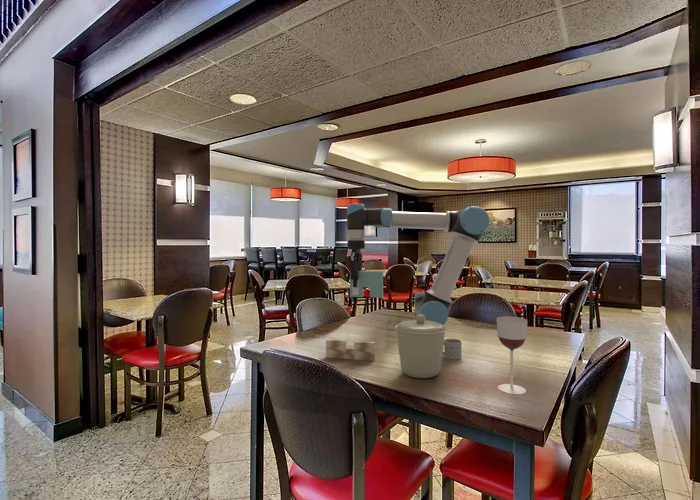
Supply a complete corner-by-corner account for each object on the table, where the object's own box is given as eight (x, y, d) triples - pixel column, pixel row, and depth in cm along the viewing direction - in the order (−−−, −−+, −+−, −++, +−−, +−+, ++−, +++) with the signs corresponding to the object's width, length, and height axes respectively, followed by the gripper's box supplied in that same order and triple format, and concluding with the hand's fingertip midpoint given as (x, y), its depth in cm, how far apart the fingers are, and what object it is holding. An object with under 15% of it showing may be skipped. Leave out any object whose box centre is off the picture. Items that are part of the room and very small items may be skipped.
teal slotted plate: (351, 296, 166) (351, 270, 166) (383, 296, 162) (382, 271, 162) (350, 296, 164) (349, 271, 164) (382, 297, 160) (381, 271, 160)
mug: (461, 355, 156) (461, 339, 156) (461, 360, 149) (461, 343, 149) (436, 353, 159) (436, 337, 158) (435, 358, 152) (435, 341, 152)
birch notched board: (375, 359, 151) (375, 342, 151) (374, 361, 149) (374, 343, 149) (327, 355, 157) (327, 339, 157) (326, 357, 155) (326, 340, 155)
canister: (411, 362, 147) (411, 308, 147) (455, 372, 136) (455, 313, 135) (385, 375, 133) (384, 315, 133) (432, 387, 122) (431, 321, 121)
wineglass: (520, 383, 124) (520, 316, 124) (532, 395, 114) (531, 322, 114) (493, 382, 125) (493, 316, 125) (501, 394, 115) (501, 322, 115)
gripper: (352, 240, 172) (353, 291, 173) (342, 239, 157) (343, 296, 158) (368, 239, 170) (369, 292, 171) (359, 239, 155) (360, 297, 156)
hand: (356, 294), depth 164 cm, fingers closed on teal slotted plate, 2 cm apart
